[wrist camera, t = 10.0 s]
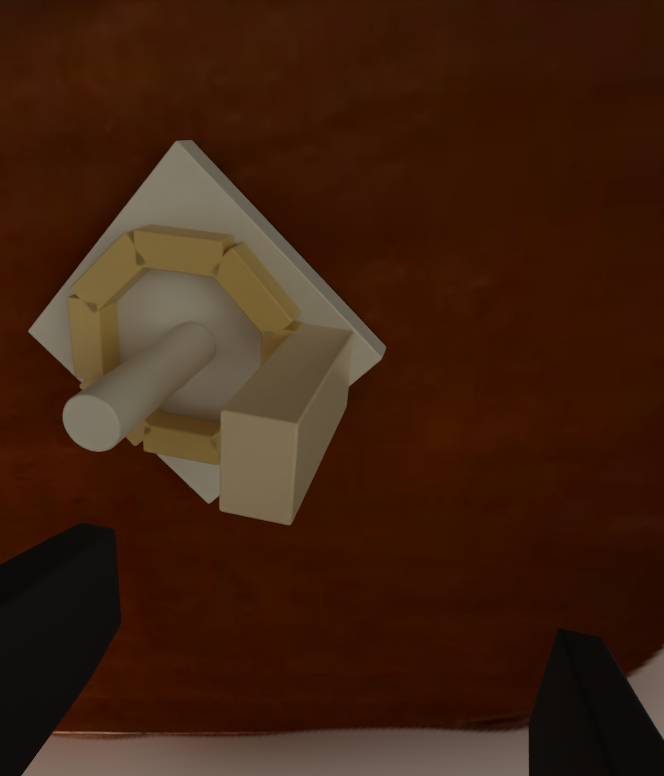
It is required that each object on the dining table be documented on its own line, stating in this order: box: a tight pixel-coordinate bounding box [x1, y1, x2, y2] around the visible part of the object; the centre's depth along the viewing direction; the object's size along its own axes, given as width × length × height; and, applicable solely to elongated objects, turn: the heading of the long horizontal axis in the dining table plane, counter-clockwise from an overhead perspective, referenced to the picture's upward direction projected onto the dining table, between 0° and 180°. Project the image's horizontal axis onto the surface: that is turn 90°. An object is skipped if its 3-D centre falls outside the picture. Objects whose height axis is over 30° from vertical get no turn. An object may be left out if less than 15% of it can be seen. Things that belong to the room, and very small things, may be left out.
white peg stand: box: [28, 140, 386, 504], centre depth 16 cm, size 8×8×6 cm
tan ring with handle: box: [67, 224, 354, 525], centre depth 16 cm, size 8×7×6 cm
